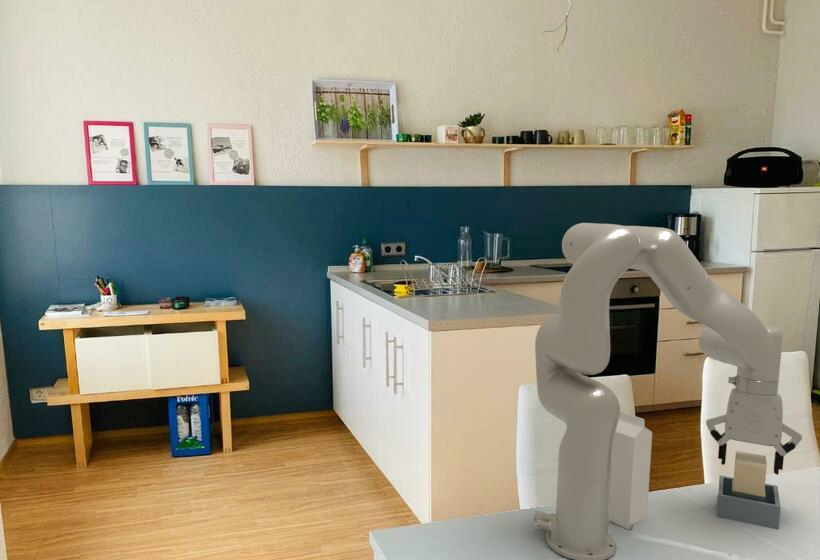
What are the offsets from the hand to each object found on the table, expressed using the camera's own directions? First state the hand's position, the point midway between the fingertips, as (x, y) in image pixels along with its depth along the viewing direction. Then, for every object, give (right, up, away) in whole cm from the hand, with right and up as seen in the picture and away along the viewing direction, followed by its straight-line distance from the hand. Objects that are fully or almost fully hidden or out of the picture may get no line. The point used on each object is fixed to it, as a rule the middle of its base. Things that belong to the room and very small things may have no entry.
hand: (749, 467), depth 134 cm
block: (0, -9, +1) cm, 10 cm away
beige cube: (0, -5, +1) cm, 5 cm away
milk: (-26, -11, -1) cm, 28 cm away
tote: (0, -10, +1) cm, 11 cm away
